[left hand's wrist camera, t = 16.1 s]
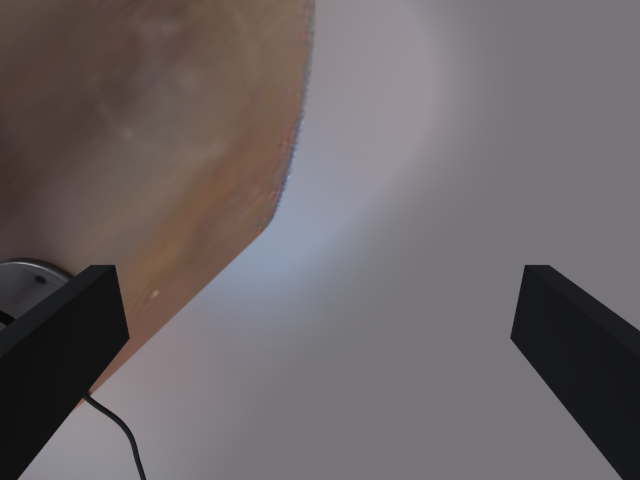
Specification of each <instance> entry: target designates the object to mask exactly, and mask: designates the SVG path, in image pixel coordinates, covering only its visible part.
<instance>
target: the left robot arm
mask: <svg viewBox="0 0 640 480" xmlns="http://www.w3.org/2000/svg"><path fill="white" fill-rule="evenodd" d="M510 338H511V340H512V341H513V342H514V344H515V345H516V346H517V347H518V349H519V350H520V351H521V352H522V354H523V355H524V356H525V357H526V359H527V360H528V361H529V362H530V364H531V365H532V366H533V367H534V369H535V370H536V371H537V372H538V374H539V375H540V376H541V377H542V379H543V380H544V381H545V383H546V384H547V385H548V386H549V388H550V389H551V390H552V391H553V393H554V394H555V395H556V396H557V398H558V399H559V400H560V401H561V403H562V404H563V405H564V406H565V408H566V409H567V410H568V412H569V413H570V414H571V415H572V417H573V418H574V419H575V420H576V422H577V423H578V424H579V425H580V427H581V428H582V429H583V430H584V432H585V433H586V434H587V435H588V437H589V438H590V439H591V440H592V442H593V443H594V444H595V445H596V447H597V448H598V449H599V451H600V452H601V453H602V454H603V456H604V457H605V458H606V459H607V461H608V462H609V463H610V464H611V466H612V467H613V468H614V469H615V471H616V472H617V473H618V474H619V476H620V477H621V478H622V479H623V480H640V331H639V330H638V329H636V328H635V327H634V326H632V325H631V324H629V323H628V322H627V321H625V320H624V319H623V318H621V317H620V316H618V315H617V314H616V313H614V312H613V311H612V310H610V309H609V308H607V307H606V306H605V305H603V304H602V303H601V302H599V301H598V300H596V299H595V298H594V297H592V296H591V295H589V294H588V293H587V292H585V291H584V290H583V289H581V288H580V287H578V286H577V285H576V284H574V283H573V282H572V281H570V280H569V279H567V278H566V277H565V276H563V275H562V274H561V273H559V272H558V271H556V270H555V269H554V268H552V267H551V266H550V265H525V268H524V273H523V278H522V283H521V288H520V293H519V298H518V303H517V308H516V313H515V318H514V323H513V327H512V332H511V337H510ZM129 339H130V337H129V332H128V327H127V322H126V317H125V313H124V308H123V303H122V298H121V293H120V288H119V283H118V278H117V273H116V268H115V265H90V266H89V267H88V268H86V269H85V270H84V271H82V272H81V273H79V274H78V275H77V276H75V277H74V278H73V277H72V276H71V275H70V274H68V273H67V272H65V271H64V270H62V269H60V268H59V267H57V266H55V265H52V264H50V263H47V262H44V261H41V260H36V259H29V258H17V259H11V260H7V261H4V262H1V263H0V480H17V479H18V478H19V477H20V476H21V474H22V473H23V472H24V471H25V469H26V468H27V467H28V466H29V464H30V463H31V462H32V461H33V459H34V458H35V457H36V456H37V454H38V453H39V452H40V451H41V449H42V448H43V447H44V445H45V444H46V443H47V442H48V440H49V439H50V438H51V437H52V435H53V434H54V433H55V432H56V430H57V429H58V428H59V427H60V425H61V424H62V423H63V422H64V420H65V419H66V418H67V417H68V415H69V414H70V413H71V412H72V410H73V409H74V408H75V406H76V405H77V404H78V403H79V401H80V400H81V399H82V398H84V399H85V400H86V401H87V402H88V403H90V404H91V405H92V406H93V407H95V408H96V409H98V410H99V411H101V412H102V413H104V414H105V415H107V416H108V417H110V418H111V419H112V420H113V421H115V422H116V423H117V424H118V425H119V426H120V427H121V428H122V429H123V431H124V432H125V433H126V435H127V437H128V439H129V441H130V443H131V446H132V450H133V454H134V459H135V462H136V465H137V468H138V471H139V475H140V478H141V480H146V477H145V474H144V471H143V467H142V464H141V461H140V458H139V454H138V449H137V445H136V442H135V439H134V436H133V434H132V433H131V431H130V429H129V428H128V427H127V425H126V424H125V423H124V422H123V421H122V420H121V419H120V418H119V417H118V416H116V415H115V414H114V413H112V412H111V411H109V410H108V409H107V408H105V407H104V406H102V405H101V404H99V403H98V402H96V401H95V400H94V399H93V398H91V397H90V396H89V395H88V394H87V391H88V390H89V389H90V388H91V386H92V385H93V384H94V383H95V381H96V380H97V379H98V378H99V376H100V375H101V374H102V373H103V371H104V370H105V369H106V367H107V366H108V365H109V364H110V362H111V361H112V360H113V359H114V357H115V356H116V355H117V354H118V352H119V351H120V350H121V349H122V347H123V346H124V345H125V344H126V342H127V341H128V340H129Z"/></svg>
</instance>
